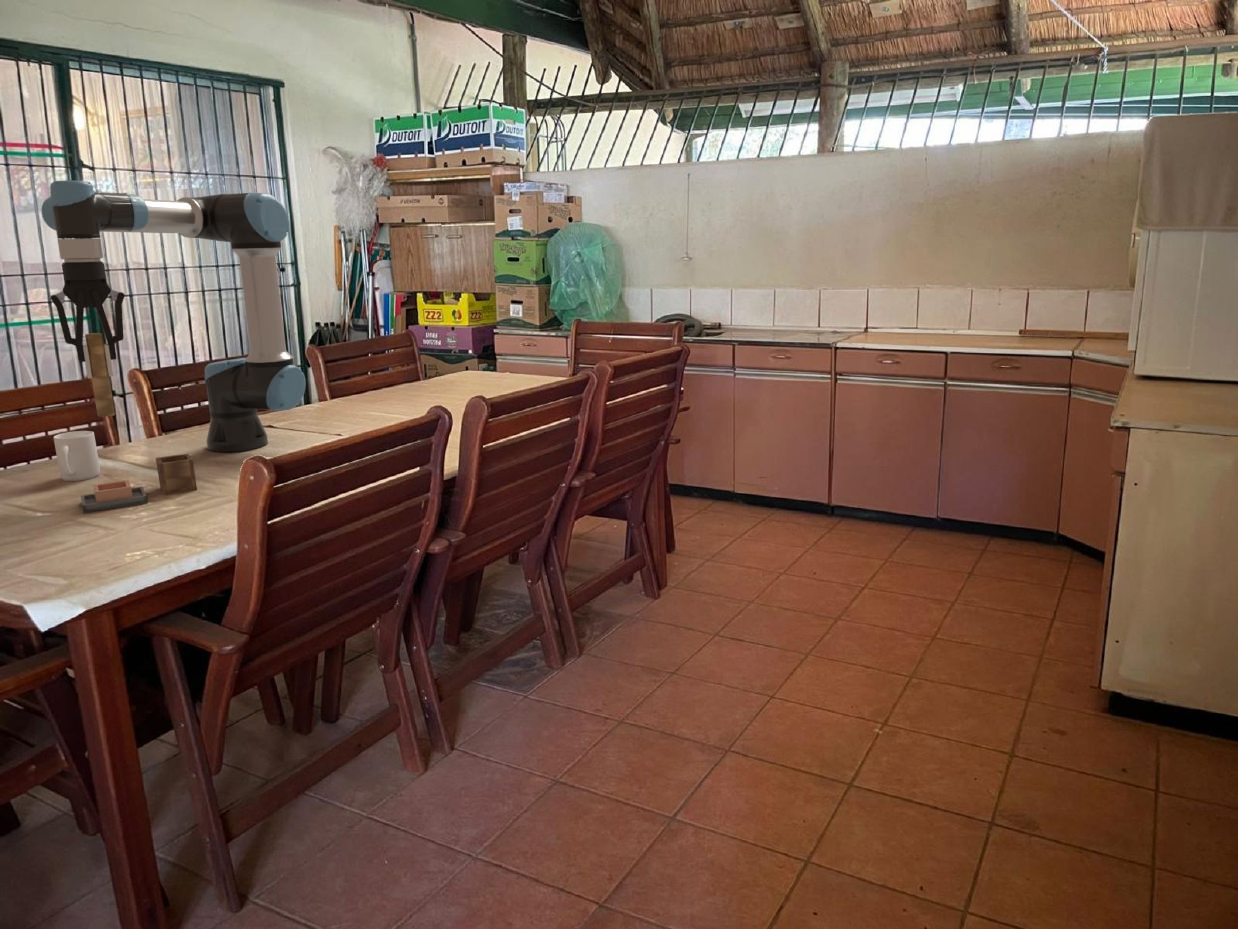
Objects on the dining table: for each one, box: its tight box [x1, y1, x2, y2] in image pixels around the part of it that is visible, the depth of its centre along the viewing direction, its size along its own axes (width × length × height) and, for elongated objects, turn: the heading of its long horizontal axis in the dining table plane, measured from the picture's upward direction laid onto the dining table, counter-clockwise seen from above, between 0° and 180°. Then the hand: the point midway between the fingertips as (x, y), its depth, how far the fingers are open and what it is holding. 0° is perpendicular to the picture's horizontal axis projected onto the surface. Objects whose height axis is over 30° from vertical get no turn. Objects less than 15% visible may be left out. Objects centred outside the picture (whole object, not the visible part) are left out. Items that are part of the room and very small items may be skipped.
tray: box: [80, 486, 149, 514], centre depth 197 cm, size 12×9×2 cm
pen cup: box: [155, 453, 198, 495], centre depth 207 cm, size 7×7×7 cm
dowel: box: [84, 332, 116, 418], centre depth 191 cm, size 3×3×17 cm
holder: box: [92, 479, 133, 503], centre depth 197 cm, size 7×7×3 cm
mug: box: [53, 430, 101, 482], centre depth 217 cm, size 12×8×10 cm
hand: (100, 376), depth 191 cm, fingers closed on dowel, 3 cm apart
